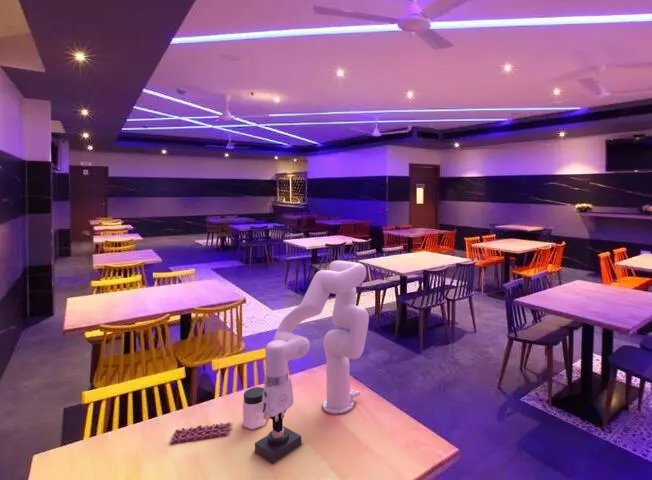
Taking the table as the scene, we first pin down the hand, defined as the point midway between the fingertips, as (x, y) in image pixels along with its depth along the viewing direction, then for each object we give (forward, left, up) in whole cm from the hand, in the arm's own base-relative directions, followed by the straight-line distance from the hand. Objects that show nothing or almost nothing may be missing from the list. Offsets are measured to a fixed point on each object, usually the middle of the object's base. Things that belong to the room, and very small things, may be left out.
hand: (277, 429), depth 138 cm
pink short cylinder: (0, 0, -2) cm, 2 cm away
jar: (+1, -20, -7) cm, 21 cm away
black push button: (0, 0, -7) cm, 7 cm away
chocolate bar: (+18, -26, -7) cm, 32 cm away
